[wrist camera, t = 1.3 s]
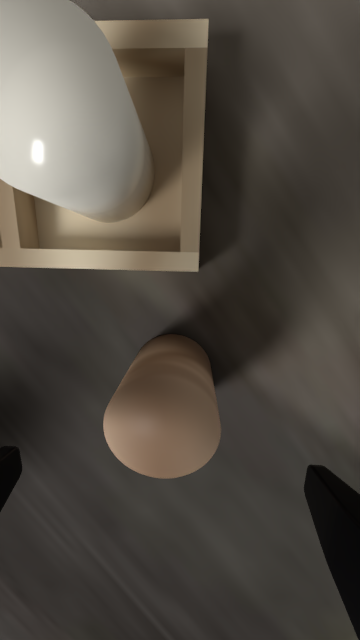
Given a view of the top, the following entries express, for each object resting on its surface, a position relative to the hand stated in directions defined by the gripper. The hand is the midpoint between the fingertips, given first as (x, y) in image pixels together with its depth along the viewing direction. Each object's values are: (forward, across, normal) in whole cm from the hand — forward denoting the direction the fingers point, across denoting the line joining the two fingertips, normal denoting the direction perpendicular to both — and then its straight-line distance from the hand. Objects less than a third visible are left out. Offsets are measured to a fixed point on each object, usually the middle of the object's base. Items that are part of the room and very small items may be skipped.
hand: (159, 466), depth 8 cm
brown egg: (+7, 0, 0) cm, 7 cm away
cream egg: (+6, +3, -10) cm, 12 cm away
